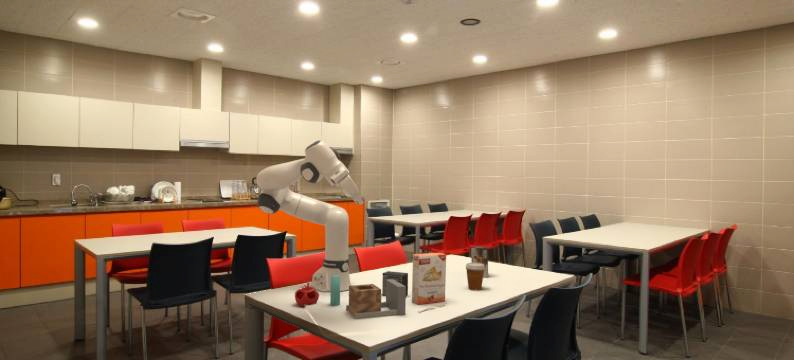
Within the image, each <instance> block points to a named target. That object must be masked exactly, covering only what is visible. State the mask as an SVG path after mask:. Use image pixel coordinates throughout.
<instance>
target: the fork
mask: <svg viewBox="0 0 794 360" xmlns="http://www.w3.org/2000/svg"><path fill="white" fill-rule="evenodd" d="M446 304H447V302H445V301H442V302H438V304H436V305H435V306H433V307H431V306H429V307H426V308H424V309H421V310H419V311H417V313H418V314H421V313H423V312H424V311H427V310H429V309H433V310H436V308H438V309H441V308H443V307H444V306H445V305H446Z"/></svg>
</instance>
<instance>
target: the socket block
mask: <svg viewBox="0 0 794 360" xmlns="http://www.w3.org/2000/svg"><path fill="white" fill-rule="evenodd" d="M381 302H382V288H380V287H379V286H377V285H375V284H374V283H368V284H355V285H354V284H353V285H352V284H351V286H349V290H348V305H349V311H348V312H349V313H350V314H351V315H352V316H354V318H355V313H364V312H374V311H382V308H381Z"/></svg>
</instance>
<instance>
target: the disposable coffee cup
mask: <svg viewBox="0 0 794 360" xmlns="http://www.w3.org/2000/svg"><path fill="white" fill-rule="evenodd" d="M465 269H466V280H467V286H468V287H467V289H468V290H469V291H470V290H471V291H481V290H482V288H483V280H484V277H483V274H484V269H485V267H484V264H481V263H471V262H467V263H466V264H465Z"/></svg>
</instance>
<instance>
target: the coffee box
mask: <svg viewBox="0 0 794 360" xmlns="http://www.w3.org/2000/svg"><path fill="white" fill-rule="evenodd" d="M470 249H471V250H470V251H471V258H470V259H471V260H470V261H471V262H470V263H481V264H484V267H485V269H484V274H483V278H486V279H487V278H489V247H488V246H476V245H475V246H471V248H470Z"/></svg>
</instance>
